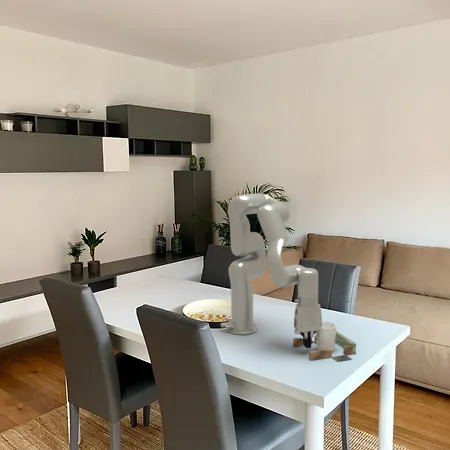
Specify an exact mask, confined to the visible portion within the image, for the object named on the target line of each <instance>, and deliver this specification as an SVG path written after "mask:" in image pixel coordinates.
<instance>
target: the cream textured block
mask: <svg viewBox="0 0 450 450" xmlns="http://www.w3.org/2000/svg"><path fill="white" fill-rule="evenodd" d="M336 331H337V324H336V323H334V322H331V321H326V320H325V321H324V320H322V328H321V329H320V330H318V332H316V333H315V335H316V344H315V345H316V350H321V349H328V348H330V349H331V350H332V353H333V352H335V344H336V343H335V338H336Z"/></svg>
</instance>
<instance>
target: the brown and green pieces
mask: <svg viewBox="0 0 450 450" xmlns="http://www.w3.org/2000/svg"><path fill="white" fill-rule="evenodd" d="M313 339H314V340H312V344H313V343H314V344H315V345H317V344H316V334H314V335H313ZM335 344H336V345H338V346H339V347H341V348H342V349H343V351H342V355H335V356H332V353H333V352H332V350H331V349H330V348H328V349H321V350H317V349H316V350H309V351H308V356H309V357H308V359H309V360H310V361H317V360H323V359H330V358H332V360H334V361H336V362H337V363H339V362H345V361H351V360H353V359H352V358H351V357H350V356H348V355H356V354H357V343H356V342H354V341H353V340H351V339H350V338H348V337H346V336H344V335H343V334H342V333H340V332H339V331H337V330H336V338H335ZM292 346H293V347H294V348H300V347H304V345H303V337H295V338H292Z"/></svg>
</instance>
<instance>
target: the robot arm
mask: <svg viewBox="0 0 450 450" xmlns="http://www.w3.org/2000/svg"><path fill="white" fill-rule="evenodd" d="M255 214H256V215H257V219H258V222H259V224H260V227H261V229H262V233H263V234H264V236H265V239H266V240H265V241H266V242H267V244H268V245H267V246H268V248H267V252H266V246H265V244H266V243H265V241H264V238H263V236H262V235H261V234H260V233H258V232H257V231H255V232H254V231H251V224H250V220H249V218H248V217H247V215H255ZM227 215H228V220H229V230H230V231H229V232H230V234H229V235H230V249H231V253H232V255H234V256H236V257H243V258H240V259H236V260H233V261H232V262H231V263H230V265H229V267H228V276H229V281H230V296H231V297H230V298H231V299H230V300H231V302H230V303H231V308H230V309H231V319H229V321H227V322H220V327H221V328H225V329H227V330H228V332H229V333H231V334H232V335H239V336H241V335H242V336H244V335H245V336H246V335H252V334H254V333H256V332H257V330H258V327H257V326H256V324H254V290H253V286H252V284H251V283H250V280H254V279H257V278H260V277H262V276H263V275H264V273H266V271H265V270H266V266H267V268H268V271H269V273H270V276H271V279H272V281H273V282H274V284H275V285H276V286H277V287H279V288H287V287H291V286H295V285H297V298H295V299H294V303H295V304H296V306H295V307H294V308H295V309H294V315H293V328H294V332H293V333H294V334H295V335H300V336H301V337H302V339H303V347H305V349H312V345H313V343H312V341H313V339H314V336H315V335H316V332H318V330H320V329H321V328H322V321H323V318H322V317H323V316H322V314H323V313H322V308H321V304H319V272H318V270H317V269H316V268H311V267H305V266H303V265H301V264H291V265H287V266H285V265H284V264H283V260H282V250H283V247H284V246H285V244H287V242H288V241H289V235H288V232H287V230H286V227H285V226H284V223H286V222H287V221H288V220H289V217H290V211H289V209H288V207H287V205H286V204H284V203H283V202H282V201H280V200H277V199H275V198H273V197H271V196H270V195H268V194H265V193H246V194H239V195H237V196H235V197H233V198H232V199H231V200H230V201H229V203H228V206H227ZM244 256H247V257H244Z"/></svg>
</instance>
